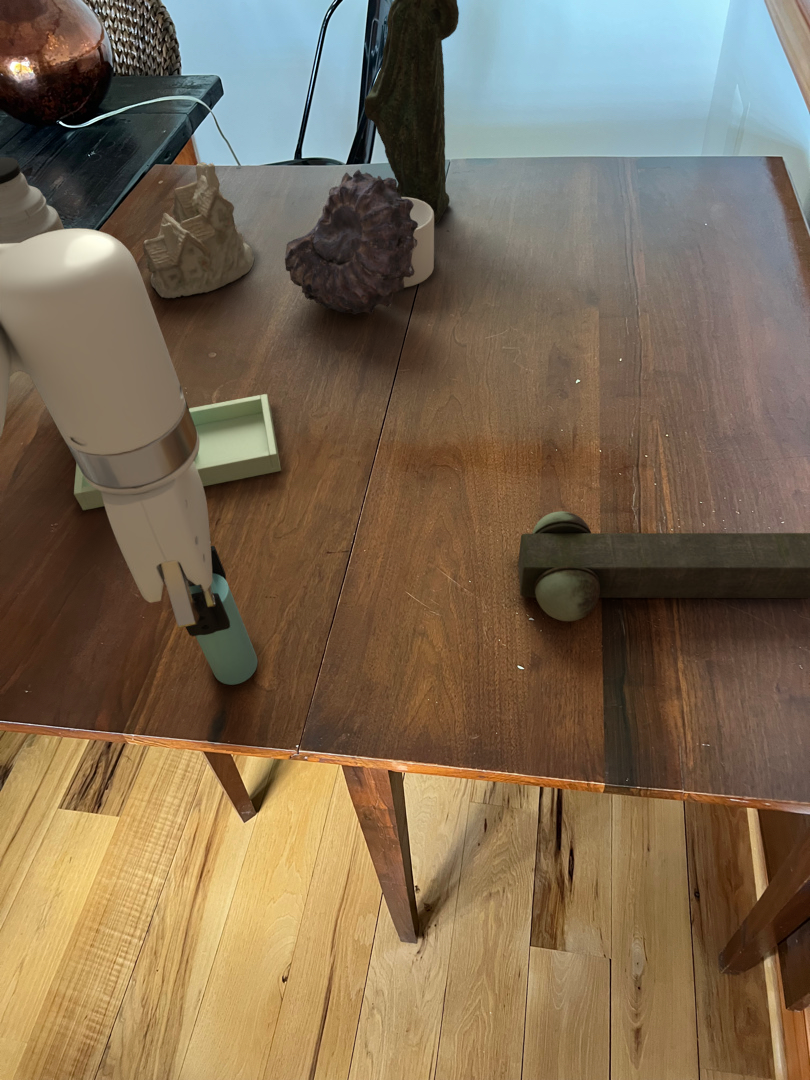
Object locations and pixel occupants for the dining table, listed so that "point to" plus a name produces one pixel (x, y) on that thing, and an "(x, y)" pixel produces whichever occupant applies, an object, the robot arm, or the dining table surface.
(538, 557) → the post
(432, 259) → the mug
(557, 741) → the dining table surface
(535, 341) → the dining table surface
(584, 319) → the dining table surface
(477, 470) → the dining table surface
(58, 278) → the robot arm
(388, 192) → the seashell
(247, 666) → the bottle
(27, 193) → the thermos bottle
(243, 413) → the tray
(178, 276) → the ceramic cottage
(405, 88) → the statue
